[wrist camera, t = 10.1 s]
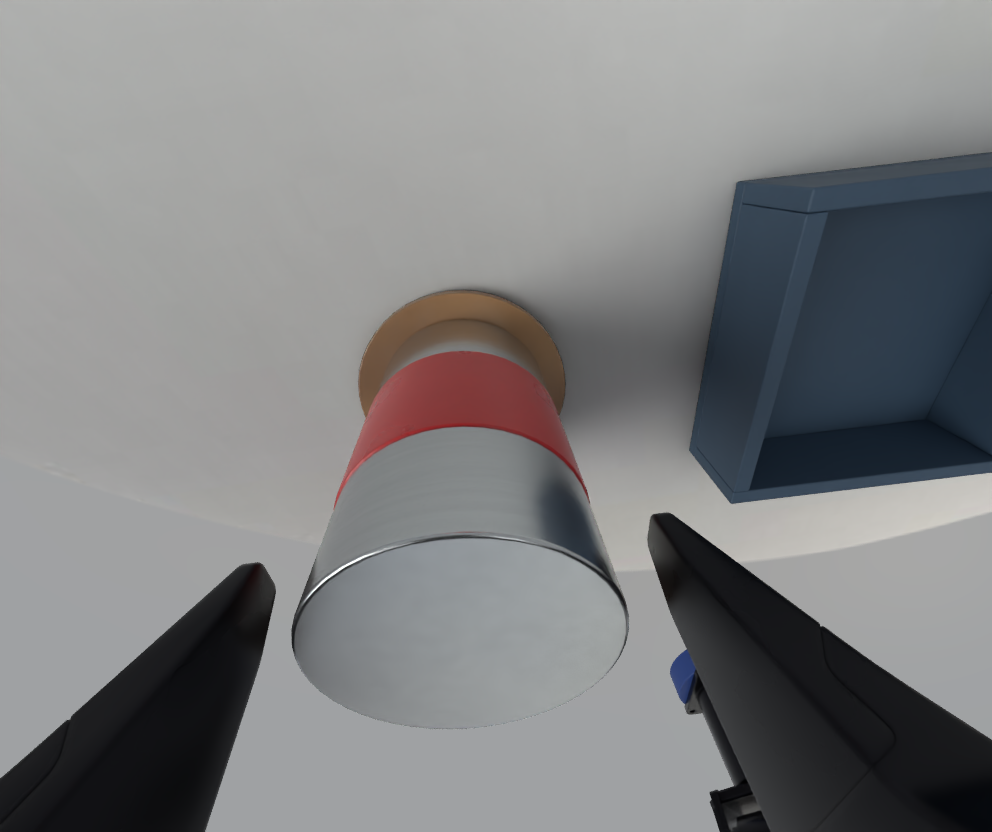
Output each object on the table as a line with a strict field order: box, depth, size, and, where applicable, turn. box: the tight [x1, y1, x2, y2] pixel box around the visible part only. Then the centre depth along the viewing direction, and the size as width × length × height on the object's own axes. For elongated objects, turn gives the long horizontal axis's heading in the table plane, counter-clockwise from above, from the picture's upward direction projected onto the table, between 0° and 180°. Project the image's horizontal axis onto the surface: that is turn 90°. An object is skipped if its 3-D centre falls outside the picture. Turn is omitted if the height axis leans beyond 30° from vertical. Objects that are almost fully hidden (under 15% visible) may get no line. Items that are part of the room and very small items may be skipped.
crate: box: [689, 152, 992, 504], centre depth 15 cm, size 11×11×4 cm
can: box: [292, 319, 629, 729], centre depth 12 cm, size 6×6×10 cm
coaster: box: [358, 290, 565, 417], centre depth 17 cm, size 8×8×1 cm
